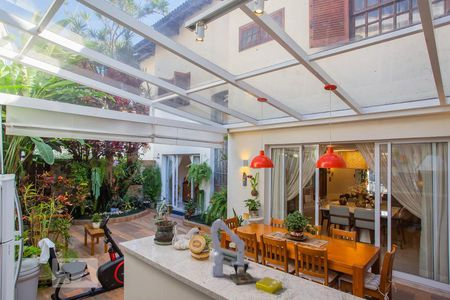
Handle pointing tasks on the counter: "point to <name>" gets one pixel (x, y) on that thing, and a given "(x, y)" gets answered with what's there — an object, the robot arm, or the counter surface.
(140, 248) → the counter surface
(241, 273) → the steel peg
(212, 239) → the robot arm
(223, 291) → the counter surface
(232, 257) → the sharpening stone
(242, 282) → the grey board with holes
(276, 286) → the element tile
